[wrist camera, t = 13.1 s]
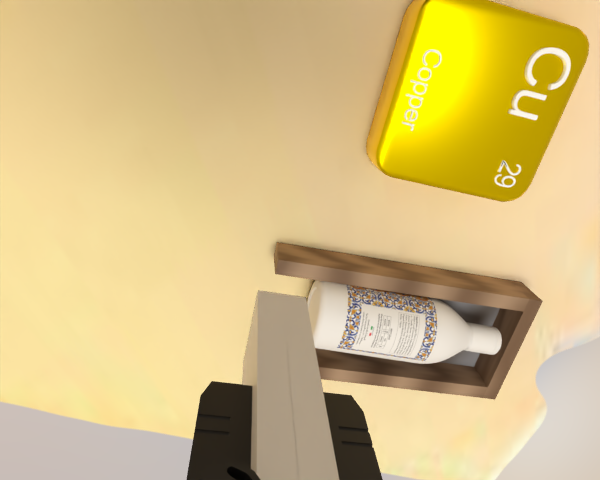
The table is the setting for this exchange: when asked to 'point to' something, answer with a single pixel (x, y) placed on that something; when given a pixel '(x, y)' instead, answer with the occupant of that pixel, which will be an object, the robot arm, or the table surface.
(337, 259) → the brown wooden tray
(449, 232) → the table surface
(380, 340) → the bath foam
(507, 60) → the element tile
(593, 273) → the table surface
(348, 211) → the table surface
